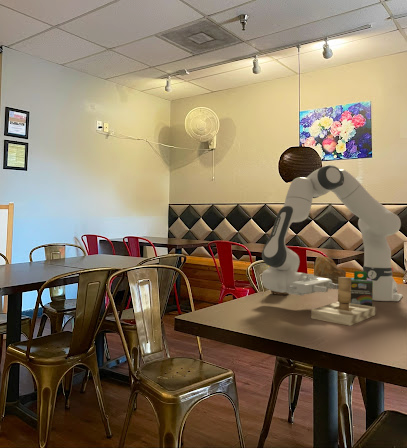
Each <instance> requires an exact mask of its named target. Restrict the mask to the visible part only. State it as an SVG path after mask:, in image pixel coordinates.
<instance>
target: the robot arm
mask: <svg viewBox="0 0 407 448" xmlns="http://www.w3.org/2000/svg"><path fill="white" fill-rule="evenodd" d="M330 192H332V193H333V194H334V195H335V196H336V197H337V198H338V200H339V201H340V202H341V203H342V204H343V205H344V206H345V208H347V210H348V211H349V212H350V213H352V214H353V215H354V216H355V217H358V218H359V219H358V222H357V226H358V229H359V230H360V233H361V237H362V238H361V239H362V243H363V251H364V252H363V253H364V255H363V259H364V260H363V266H362V271H364V272H367V278H371V279H372V281H373V301H375V302H377V301H378V302H380V301H381V302H399V301H400V300H401V299H402V298H403V294H402V293H398V283H397V282H396V281H395V279H394V277H393V273H394V267H392V249H391V247H390V245H389V242H388V240H387V239H388V238H387V237H389V236H392V235H395V234H397V233H398V232H399V230H400V229H401V226H402V222H401V221H402V220H401V219H400V217H399V215H397V214H396V213H394V212H392V211H391V210H389V209H388V208H387V207H386V206H385V205H383V204H382V203H381V202H379V201H378V200H377V199H375V197H373V196H372V195H371V194H370V192H368V190H366V189H365V187H364V186H363V185H362V184H361V183H360V182H359V180H358V179H356V177H354V176H353V175H352V174H351V173H349V172H348V171H347V170H345V169H342V168H341V169H340V168H339V167H337V166H335V165H333V164H327V165H322V166H321V167H320V168H318V169H316V170H314V171H312V172H311V173H309V175H307V176H305V177H303V176H302V177H296V178H294V179H293V180H292V181H291V182H290V184H289V187H288V190H287V192H286V193H287V194H286V195H285V201H284V203H283V206H282V208H280V210H279V211H278V213H277V215H276V218H275V221H274V223H273V227H272V229H271V232H270V235H269V237H268V240H267V241H266V243H265V245H264V246H263V249H262V251H261V258H262V261H263V262H264V264H265V265H267V266H269V267H268V268H267V269H265V270H263V271H262V274H261V283H262V285H263V287H264V288H265V289H267V290H269V291H270V292H271V291H275V292H281V293H283V292H287V293H288V294H289V295H295V296H299V297H300V296H302V297H303V296H305V295H310V294H315V293H328V292H329V291H328V290H331V289H332V290H338V284H334V283H332V280H331V279H327V278H323V277H317V276H314V273H313V274H312V273H305V272H298V270H299V267H300V263H301V261H300V260H301V259H300V256H299V255H298V253H296V252H295V251H293V250H292V249H291V248H288V247H287V245H286V238H287V235H288V233H289V229H290V226H291V225H292V223H301V222H303V221H305V220H306V219H308V217H309V215H310V212H311V208H312V203H313V199H316V198H319V197H322V196H324V195H327V194H328V193H330ZM361 277H363V275H362V276H361Z"/></svg>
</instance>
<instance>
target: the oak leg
mask: <svg viewBox="0 0 407 448" xmlns="http://www.w3.org/2000/svg"><path fill="white" fill-rule="evenodd" d="M351 278H352V277H338V289H337V302H339V309H340V310H346V311H349V303H351Z"/></svg>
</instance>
